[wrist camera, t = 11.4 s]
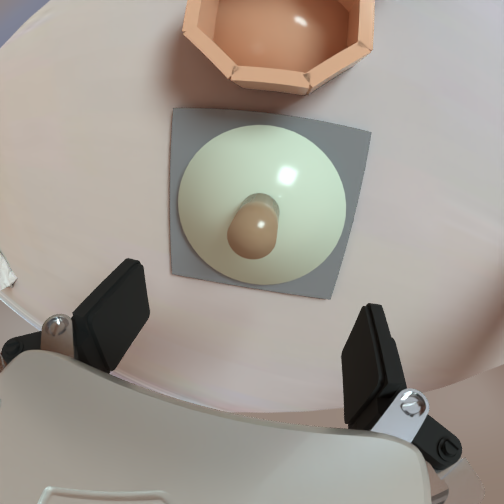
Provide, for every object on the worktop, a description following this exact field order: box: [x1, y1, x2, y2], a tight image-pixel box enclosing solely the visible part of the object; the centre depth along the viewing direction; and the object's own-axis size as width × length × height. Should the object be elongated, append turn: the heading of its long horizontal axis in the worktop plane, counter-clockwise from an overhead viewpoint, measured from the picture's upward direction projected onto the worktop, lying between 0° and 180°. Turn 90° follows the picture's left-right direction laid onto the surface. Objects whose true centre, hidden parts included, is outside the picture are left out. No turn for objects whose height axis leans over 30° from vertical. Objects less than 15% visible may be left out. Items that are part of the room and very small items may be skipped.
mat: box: [170, 108, 371, 300], centre depth 23 cm, size 16×16×1 cm
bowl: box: [182, 0, 375, 95], centre depth 14 cm, size 12×12×5 cm
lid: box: [178, 125, 346, 285], centre depth 20 cm, size 14×14×6 cm
